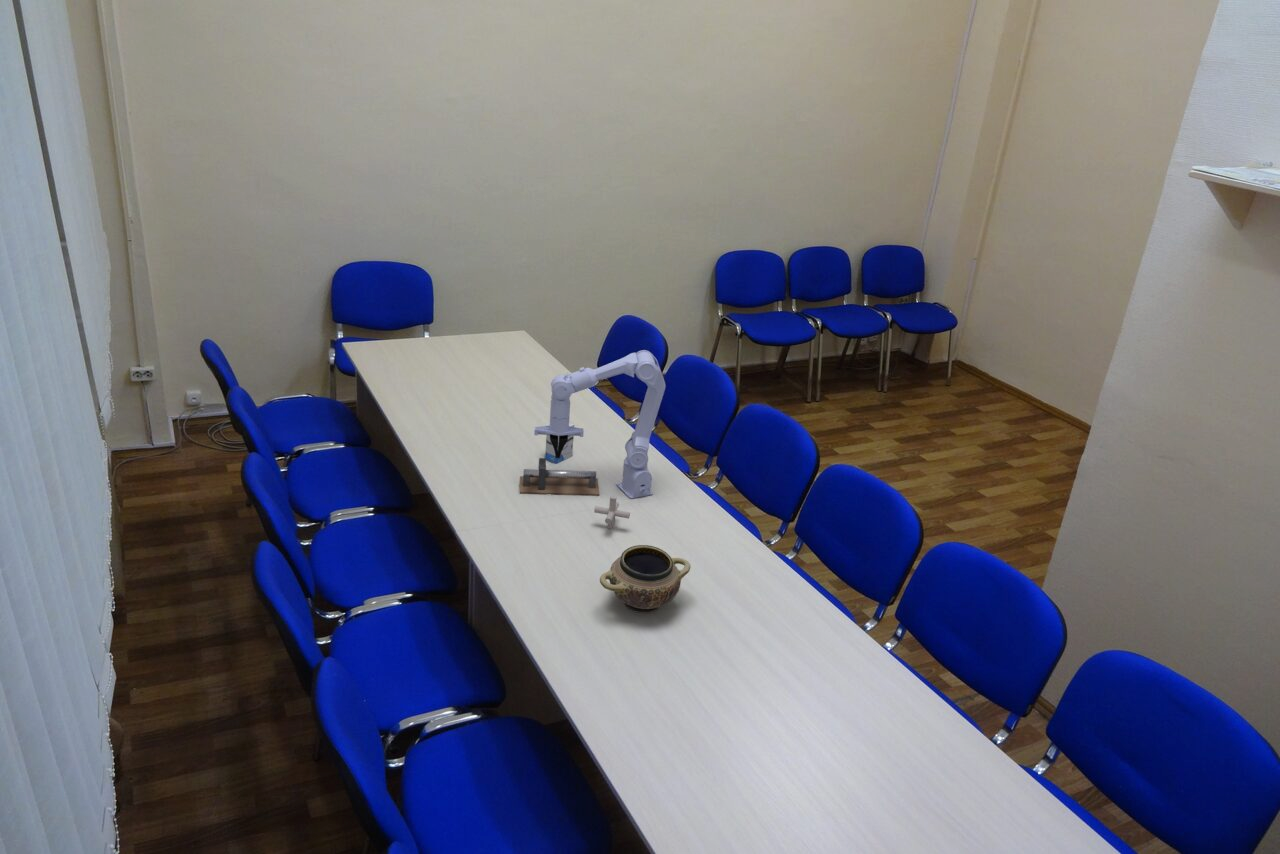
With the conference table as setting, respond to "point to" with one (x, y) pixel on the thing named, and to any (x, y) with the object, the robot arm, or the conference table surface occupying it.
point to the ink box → (565, 452)
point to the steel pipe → (560, 475)
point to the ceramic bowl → (645, 578)
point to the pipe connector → (612, 512)
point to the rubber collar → (542, 473)
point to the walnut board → (560, 487)
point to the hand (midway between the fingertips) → (557, 456)
